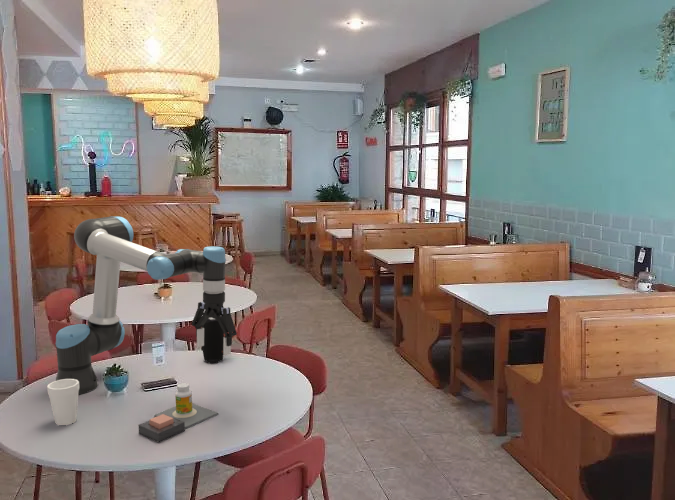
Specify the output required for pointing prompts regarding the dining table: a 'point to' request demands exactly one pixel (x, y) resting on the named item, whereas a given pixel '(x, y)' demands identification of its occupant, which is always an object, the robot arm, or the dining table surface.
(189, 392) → the supplement bottle
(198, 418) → the slate board
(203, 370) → the dining table surface
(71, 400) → the foam cup
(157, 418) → the button
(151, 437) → the button housing
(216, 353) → the portable speaker
